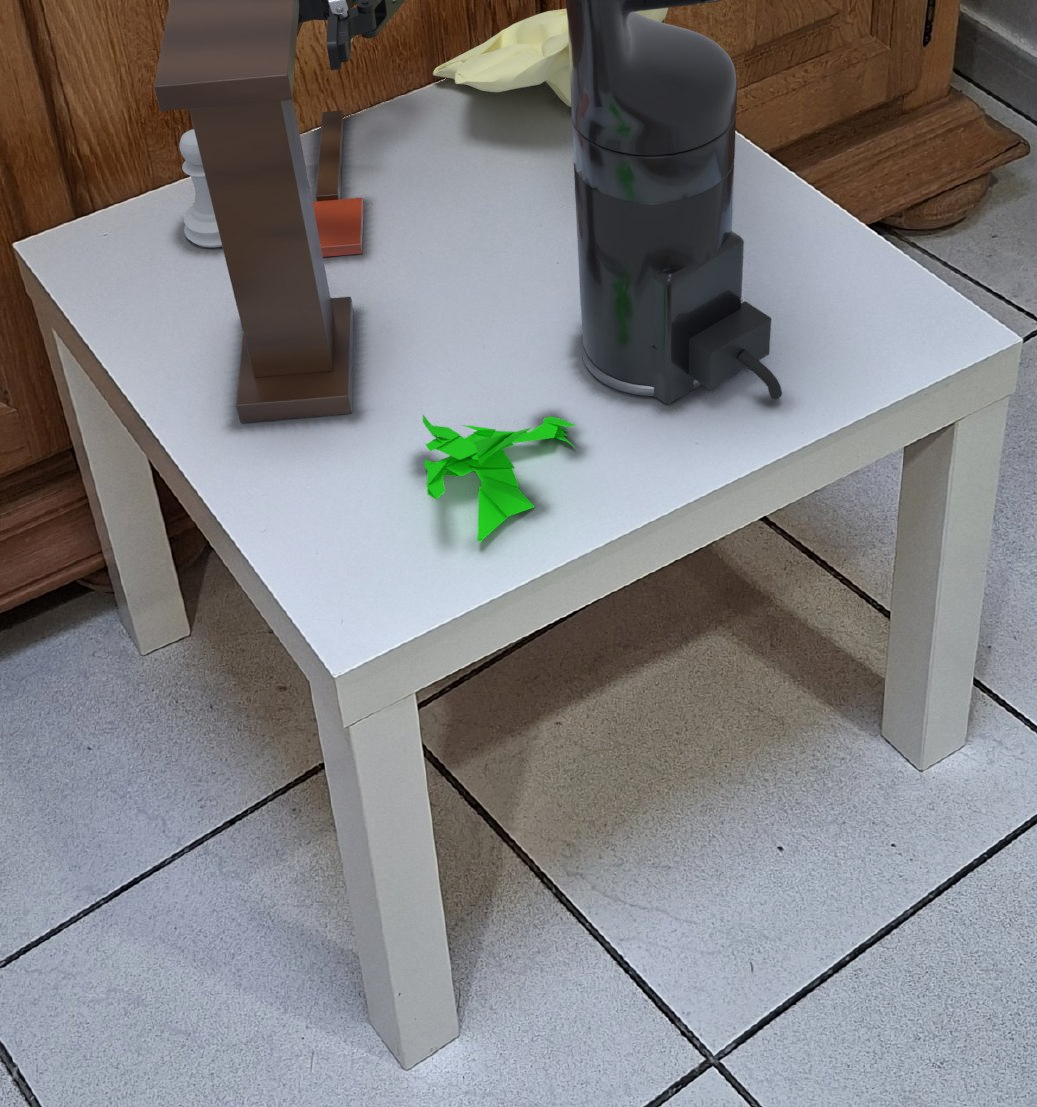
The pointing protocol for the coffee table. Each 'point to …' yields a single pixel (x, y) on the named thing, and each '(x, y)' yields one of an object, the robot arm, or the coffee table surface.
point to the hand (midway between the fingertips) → (308, 59)
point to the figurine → (486, 466)
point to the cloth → (523, 56)
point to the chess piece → (198, 197)
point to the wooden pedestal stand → (261, 201)
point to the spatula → (335, 194)
